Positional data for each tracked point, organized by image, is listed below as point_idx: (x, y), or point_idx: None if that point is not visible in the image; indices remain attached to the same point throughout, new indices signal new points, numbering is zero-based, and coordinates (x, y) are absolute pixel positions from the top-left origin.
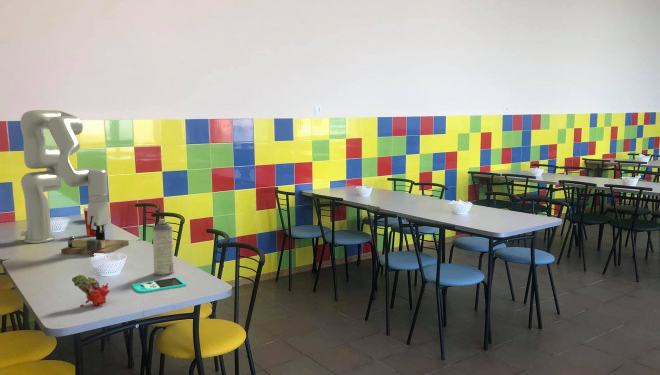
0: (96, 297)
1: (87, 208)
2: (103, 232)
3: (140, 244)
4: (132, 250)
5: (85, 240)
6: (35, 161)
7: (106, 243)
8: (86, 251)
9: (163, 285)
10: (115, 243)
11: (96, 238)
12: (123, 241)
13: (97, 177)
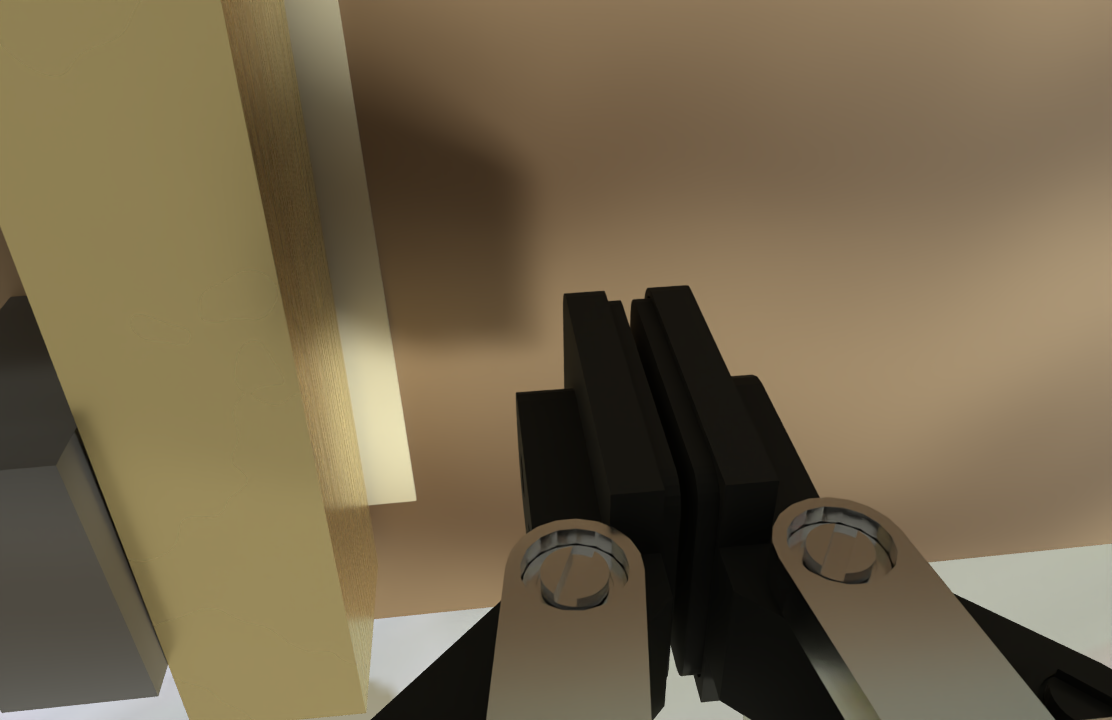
0: None
1: None
2: (691, 671)
3: (1089, 612)
4: (663, 709)
5: (34, 286)
6: None
7: (845, 301)
8: (4, 276)
9: None
10: (847, 481)
11: (574, 351)
12: (1044, 514)
13: None
